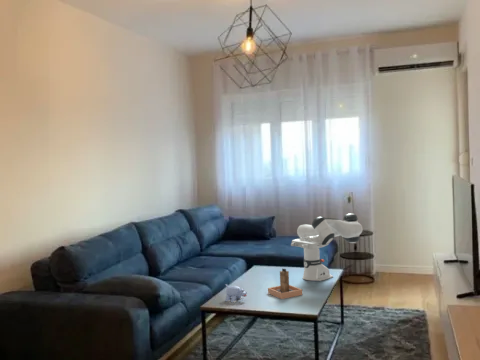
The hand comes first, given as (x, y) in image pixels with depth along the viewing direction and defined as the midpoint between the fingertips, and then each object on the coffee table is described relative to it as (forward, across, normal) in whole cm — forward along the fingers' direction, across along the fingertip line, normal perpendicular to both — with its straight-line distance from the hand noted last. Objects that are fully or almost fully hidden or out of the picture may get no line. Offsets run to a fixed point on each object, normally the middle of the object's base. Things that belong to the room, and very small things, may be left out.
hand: (296, 245), depth 320 cm
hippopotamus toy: (+42, +13, -30) cm, 54 cm away
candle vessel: (+12, 0, -30) cm, 32 cm away
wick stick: (+12, 0, -29) cm, 31 cm away
